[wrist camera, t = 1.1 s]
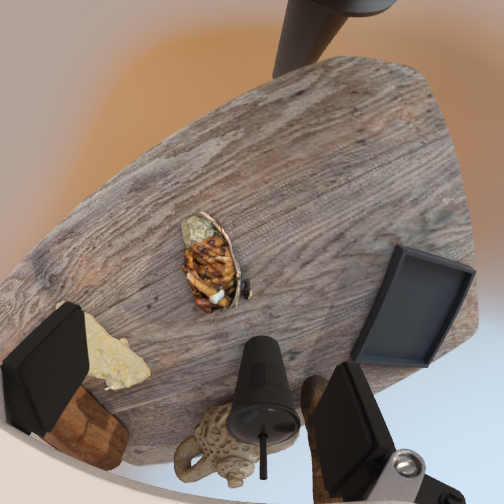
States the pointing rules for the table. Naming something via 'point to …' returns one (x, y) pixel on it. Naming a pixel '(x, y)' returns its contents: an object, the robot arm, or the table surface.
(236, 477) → the teapot
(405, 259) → the serving tray
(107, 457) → the bread
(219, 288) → the taco
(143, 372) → the cheese
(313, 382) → the sculpture
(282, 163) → the table surface
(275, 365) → the drinking cup
